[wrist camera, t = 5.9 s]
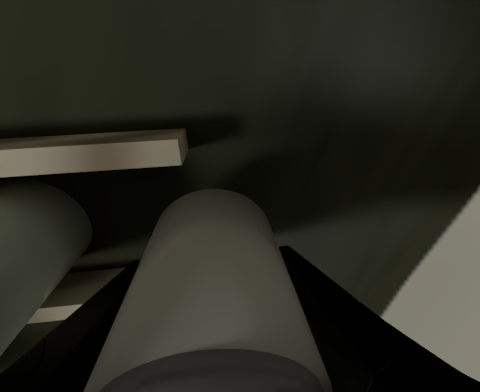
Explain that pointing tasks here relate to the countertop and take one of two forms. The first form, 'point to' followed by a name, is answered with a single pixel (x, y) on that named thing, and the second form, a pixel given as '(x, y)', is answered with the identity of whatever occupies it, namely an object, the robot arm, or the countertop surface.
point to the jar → (210, 309)
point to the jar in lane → (35, 248)
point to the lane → (84, 160)
